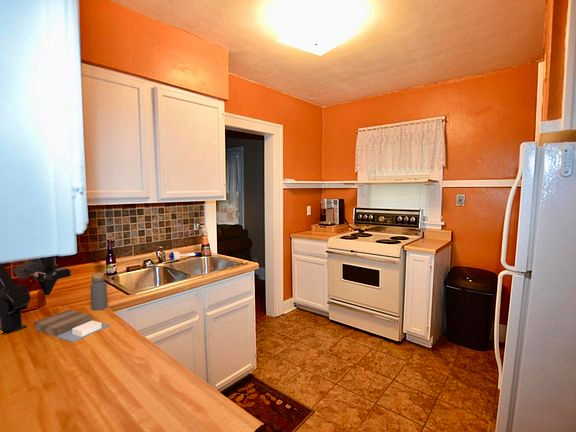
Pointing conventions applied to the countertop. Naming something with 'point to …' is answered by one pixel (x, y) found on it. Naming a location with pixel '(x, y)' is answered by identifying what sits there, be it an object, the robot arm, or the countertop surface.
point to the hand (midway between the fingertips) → (47, 295)
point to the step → (61, 322)
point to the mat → (72, 338)
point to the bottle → (98, 291)
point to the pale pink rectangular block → (86, 328)
